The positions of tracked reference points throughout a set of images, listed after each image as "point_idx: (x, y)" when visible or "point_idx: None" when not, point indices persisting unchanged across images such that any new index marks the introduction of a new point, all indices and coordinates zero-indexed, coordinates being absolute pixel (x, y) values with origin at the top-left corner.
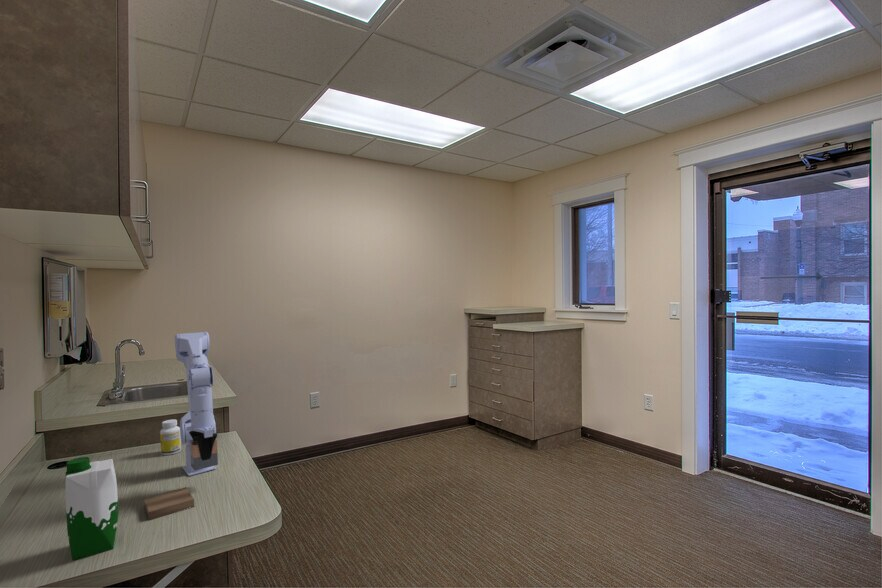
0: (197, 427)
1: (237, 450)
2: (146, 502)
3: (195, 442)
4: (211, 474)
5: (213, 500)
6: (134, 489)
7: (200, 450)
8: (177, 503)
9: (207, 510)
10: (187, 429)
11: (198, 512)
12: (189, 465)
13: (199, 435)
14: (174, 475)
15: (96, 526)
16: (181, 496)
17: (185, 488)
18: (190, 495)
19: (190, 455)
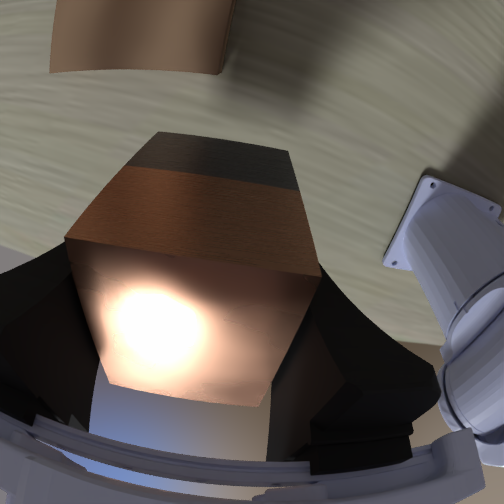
0: (10, 496)
1: (437, 341)
2: None
3: (196, 298)
4: (354, 230)
5: (71, 135)
6: (484, 9)
7: (60, 244)
8: (58, 13)
9: (16, 102)
10: (37, 498)
11: (20, 76)
12: (458, 208)
13: (25, 385)
14: (479, 153)
15: None
16: (115, 31)
17: (203, 67)
18: (92, 65)
19: (296, 183)
